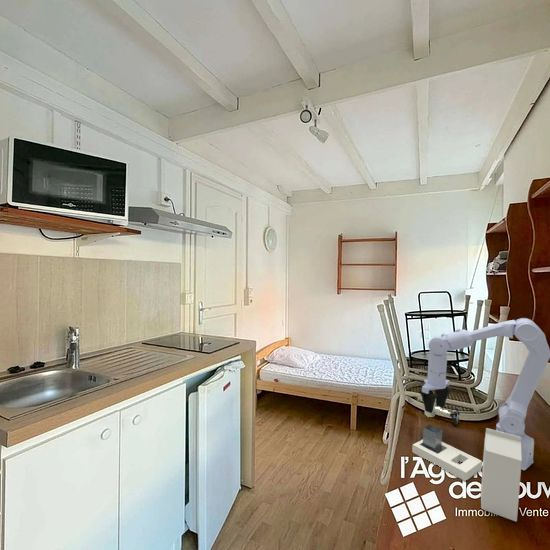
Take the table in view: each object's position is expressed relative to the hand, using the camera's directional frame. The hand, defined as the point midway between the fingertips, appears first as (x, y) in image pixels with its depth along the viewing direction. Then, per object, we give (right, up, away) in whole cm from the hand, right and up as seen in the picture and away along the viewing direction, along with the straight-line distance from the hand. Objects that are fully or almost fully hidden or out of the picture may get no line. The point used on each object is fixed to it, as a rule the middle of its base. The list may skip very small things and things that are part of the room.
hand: (434, 409), depth 113 cm
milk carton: (0, -11, -33) cm, 34 cm away
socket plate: (-4, -10, -14) cm, 18 cm away
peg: (-6, -10, -10) cm, 16 cm away
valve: (+9, -10, +13) cm, 18 cm away
